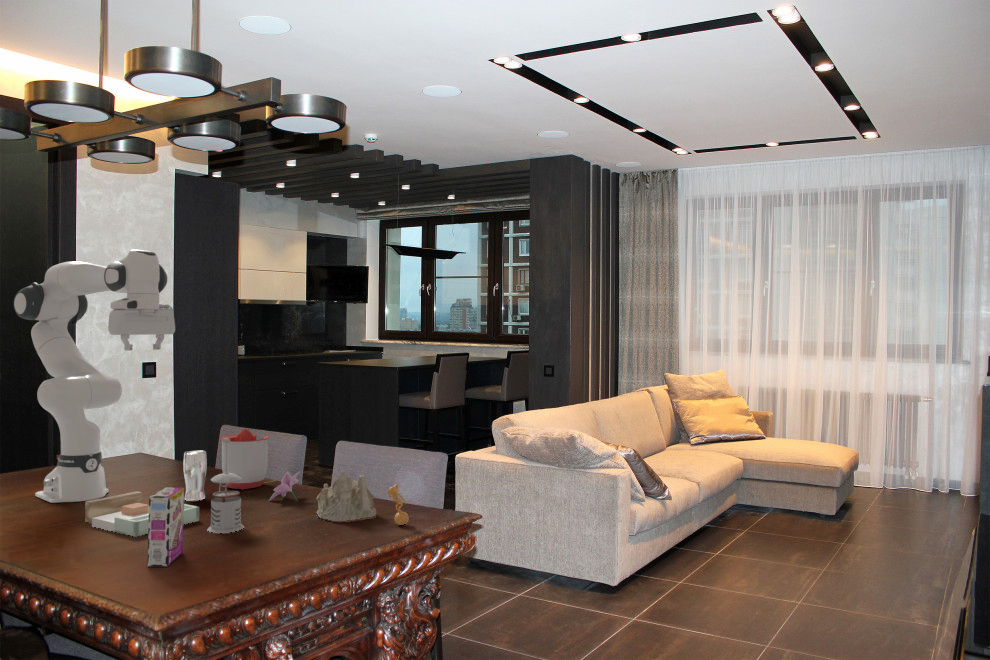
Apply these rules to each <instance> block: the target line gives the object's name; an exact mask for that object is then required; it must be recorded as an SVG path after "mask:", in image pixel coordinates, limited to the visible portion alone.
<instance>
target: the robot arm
mask: <svg viewBox="0 0 990 660" xmlns="http://www.w3.org/2000/svg"><path fill="white" fill-rule="evenodd" d="M44 274H45V275H44V281H43V282H42V283H40V284H39V283H38V282H35V281H34V282H31V283H30V285H28V286H26V287H22V289H21V288H20V290H19V291H17V293H16V294H15V295H14V298H13V309H14V311H15V314H16V315H17V317H19V318H21V319H23V320H29V321H38V322H36V323H35V324H34V325H33V326H32V328H31V331H30V334H31V335H30V336H31V339H32V343H33V346H34V350H35V351H36V354H37V355H38V357H39V358H40V360H41V363H42V365H43V366H44V368H45V369H46V372H47V373H48V374H49V375H50V376H51V377H52V378H50V379H46V380H43V381H42V382H41V384H40V385H39V387H38V389H37V393H36V394H37V395H36V396H37V401H38V403H39V405H40V406H41V407H42V408H43V409H44V410H45V411H46V412H48V413H50V415H51V416H52V417H53V418H54V420H55V421H56V423H57V426H58V428H59V433H60V454H57V455H56V460H57V463H56V467H55V468H53V469H52V471H50V472H49V473H48V474H47V475H46V476H45V478H44V480H43V490H39V491H37V492H35V494H34V496H35V497H37V498H39V499H42V500H44V501H46V502H49V503H51V504H56V503H74V502H86V501H91V500H96V499H101V498H104V497H105V496H106V494H107V493H109V492H110V491H109V488H107V486H106V484H107V483H106V476H105V475H106V474H105V468H104V467H103V466H102V465H101V464H102V462H103V460H102V459H103V455H102V454H103V453H102V451H101V429H100V427H99V425H97V424H96V423H95V422H92V421H91V420H88V419H87V416H86V414H85V410H91V409H92V410H93V409H102V408H105V407H109V406H112V405H115V404H117V403H118V402H119V401H120V399H121V397H122V393H123V388H122V384H121V382H120V380H119V379H118V378H117V377H116V376H113V375H111V374H108V373H107V372H104V371H102V370H101V369H99V368H98V367H96V366H95V365H93V363H91V362H90V361H89V360H88V359H86V357H85V356H84V355H83V354H82V352H81V351H80V349H79V348H78V346H77V344H76V343H75V341H74V339H73V337H72V336H71V334H70V333H69V330H68V327H74V326H75V325H76V324H77V323H78V321H79V320H81V319H83V317H84V316H85V314H86V313H87V311H88V304H89V303H88V298H87V295H92V294H97V293H103V292H110V291H111V292H115V293H121V294H126V297H123V298H121V299H118V300H113V301H111V303H110V309H112V310H111V311H110V312H109V315H108V321H107V322H108V323H107V324H108V325H107V330H108V332H109V334H110V335H113V336H120V340H121V342H122V344H123V345H124V346H123V347H124V349H123V350H124V351H126V352H127V351H129V352H130V351H133V346H134V345H133V343H132V344H131V343H130V341H129V339H130V337H131V336H132V335H133V336H134V335H135V336H136V335H138V336H139V335H140V336H141V335H143V336H144V335H148V336H149V335H155V338H156V340H155V343H152V350H154V351H158V350H159V351H160V350H161V348H162V347H161V346H162V343H163V341H164V339H165V335H173V334H174V333H175V332H176V322H175V321H176V320H175V316H174V308H173V307H172V306H171V305H170V304H161V303H160V293H162V292H163V291H164V289H165V288H166V286H167V284H168V275H167V272H166V270H165V269H164V268H163V266H162V265H161V264H160V262H159V257H158V254H157V253H156V252H154V251H151V250H146V249H145V250H144V249H136V248H134V249H131V250H129V251H128V253H127V255H126V256H125V257H123V258H122V259H119V260H117V261H112V262H111V263H109V264H108V265H107V266H104V265H99V264H96V263H95V264H94V263H90V262H87V261H77V260H76V261H75V260H74V261H65V262H61V263H58V264H55V265H52V266H51V267H49V268H48V269H47V270H46V272H45V273H44ZM130 335H131V336H130Z"/></svg>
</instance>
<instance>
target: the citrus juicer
mask: <svg viewBox="0 0 990 660" xmlns="http://www.w3.org/2000/svg"><path fill="white" fill-rule="evenodd" d="M224 438H229V439H230V442H227V472H228V473H233V474H236V475H238V476H240V477H241V478H242V479H241V481H239V482H235V483H228V485H227V488H229V489H235V490H237V489H239V490H240V489H241V491H244V489H246V490H247V489H253V488H260V487H262V485H263V483H264V482H265V478H266V474H267V471H268V462H269V461H268V460H269V459H268V458H269V450H270V445H269V444H268V443H269V440H268V439H269V435H266V436H264V437H263V438H261V439H257V434H254V433H252V432H251V431H250V430H249V429H247V428H243V429H242V430H241V431H240V432H239V433H238V434H234V435H233V434H231V435H226V436H223V437H221V438H220V439H221V440H220V441H221V470H222V473H225V472H226V443H224V442H223V440H224Z"/></svg>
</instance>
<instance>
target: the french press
mask: <svg viewBox="0 0 990 660" xmlns="http://www.w3.org/2000/svg"><path fill="white" fill-rule="evenodd" d="M223 442H224V443H226V472H225V473H223V472H222V473H219V474H217V475H214V476H213V477H211V479H210V481H211V482H212V483H214V484H219V486H218V491H215V492H213V493H212V494H211V495H212V496H213V498H211V499H210V506H211V507H210V526H209V527H208V528H207V530H206V532H208V531H209V532H208V533H211V532H213V533H212V534H220V533H222V534H231V533H230V532H232V533H236V532H235V531H237V532H240V531H239V530H241V529H242V530H244V529H245V526H244V525H243V523H242V497H241V496H239V495H240V494H241V493H240V491H238V490H227V489H228V487H227V485H228V483H235V482H239V481H241V479H242V478H241V477H240V476H238V475H236V474H233V473H228V472H227V442H230V439H229V438H224V440H223ZM223 484H225V485H223ZM221 487H222V488H224V490H221ZM223 500H224V502H223ZM243 528H244V529H243ZM242 530H241V531H242Z"/></svg>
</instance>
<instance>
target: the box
mask: <svg viewBox="0 0 990 660" xmlns="http://www.w3.org/2000/svg"><path fill="white" fill-rule="evenodd" d="M199 521H200V506H197V505H192V504H191V505H190V504H186V503H184V517H183V526H185V525H188V523H189V524H192V522H193V523H195V522H196V523H197V522H199ZM184 524H185V525H184ZM148 526H149V518H147V519H142V520H138V521H135V520H131V519H126V518H122V517H115V520H114V532H113V533H115V532H117V533H116V534H119V533H120V535H123V534H125V535H124V536H128V535H130V536H129V537H132V536H133V537H132V538H139V537H142V535H143V536H145V534H147V535H148V531H149V528H148ZM138 536H139V537H138Z"/></svg>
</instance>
